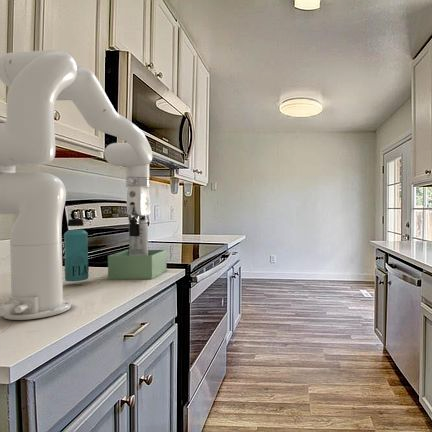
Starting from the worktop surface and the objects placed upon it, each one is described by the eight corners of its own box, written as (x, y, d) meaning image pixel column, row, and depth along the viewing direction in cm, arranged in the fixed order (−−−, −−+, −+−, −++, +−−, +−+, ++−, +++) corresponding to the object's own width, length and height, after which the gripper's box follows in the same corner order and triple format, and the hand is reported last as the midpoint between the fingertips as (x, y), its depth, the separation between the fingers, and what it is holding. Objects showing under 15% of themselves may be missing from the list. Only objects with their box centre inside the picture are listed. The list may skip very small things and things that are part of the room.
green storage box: (152, 278, 117) (151, 255, 116) (108, 279, 116) (107, 255, 116) (166, 270, 132) (166, 249, 132) (127, 270, 131) (127, 249, 131)
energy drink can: (152, 262, 126) (151, 219, 125) (140, 265, 120) (139, 220, 120) (137, 261, 128) (137, 219, 127) (125, 264, 122) (125, 220, 121)
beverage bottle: (69, 287, 104) (68, 219, 103) (60, 284, 108) (59, 218, 107) (93, 283, 109) (92, 218, 109) (83, 280, 113) (82, 218, 113)
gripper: (139, 181, 114) (139, 237, 115) (157, 184, 132) (158, 233, 132) (115, 181, 114) (116, 237, 115) (136, 184, 131) (137, 233, 132)
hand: (138, 234), depth 124 cm, fingers closed on energy drink can, 6 cm apart
